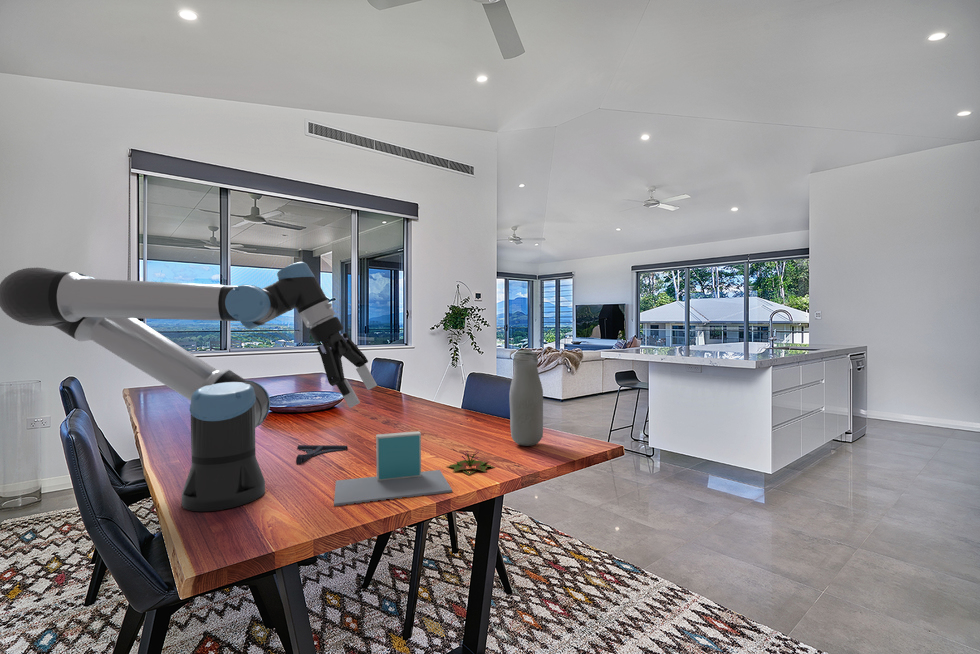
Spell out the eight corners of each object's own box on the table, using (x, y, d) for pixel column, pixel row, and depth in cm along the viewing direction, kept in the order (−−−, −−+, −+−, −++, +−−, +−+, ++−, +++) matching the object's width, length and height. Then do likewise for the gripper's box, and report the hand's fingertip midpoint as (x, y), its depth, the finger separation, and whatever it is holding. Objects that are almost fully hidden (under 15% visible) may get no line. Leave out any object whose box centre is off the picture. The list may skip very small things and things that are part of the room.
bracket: (271, 466, 120) (271, 455, 120) (299, 450, 135) (299, 440, 135) (325, 467, 119) (325, 456, 119) (347, 451, 133) (347, 441, 133)
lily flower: (437, 469, 116) (436, 450, 116) (473, 459, 124) (473, 442, 124) (467, 481, 107) (467, 461, 107) (504, 469, 115) (504, 451, 115)
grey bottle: (543, 440, 140) (542, 349, 140) (543, 450, 130) (543, 351, 130) (510, 440, 141) (510, 349, 141) (508, 449, 131) (508, 351, 131)
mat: (333, 506, 92) (333, 503, 91) (335, 482, 105) (335, 480, 105) (452, 492, 99) (452, 489, 99) (439, 471, 112) (439, 469, 112)
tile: (377, 481, 104) (376, 437, 104) (376, 477, 107) (376, 434, 107) (421, 476, 107) (420, 433, 107) (419, 473, 110) (419, 431, 110)
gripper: (313, 324, 101) (360, 407, 104) (352, 308, 126) (390, 375, 129) (284, 339, 102) (332, 420, 105) (329, 320, 127) (367, 386, 130)
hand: (364, 396), depth 117 cm, fingers open, 13 cm apart
